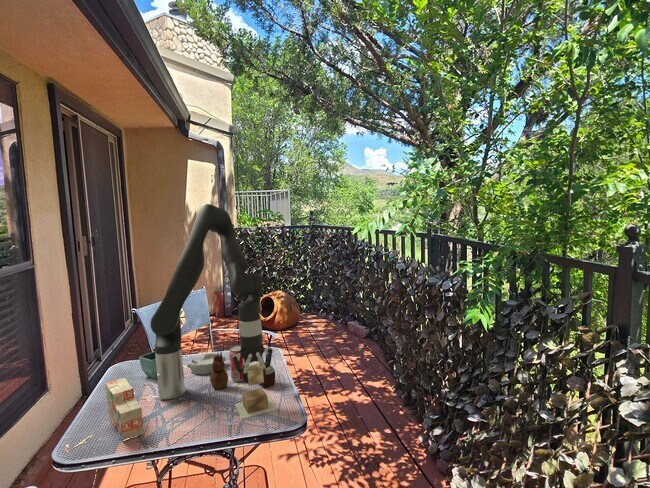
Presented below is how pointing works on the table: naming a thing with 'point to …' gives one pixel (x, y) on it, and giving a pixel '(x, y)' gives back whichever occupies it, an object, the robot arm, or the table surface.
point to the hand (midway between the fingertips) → (254, 380)
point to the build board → (244, 413)
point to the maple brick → (255, 374)
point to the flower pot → (149, 364)
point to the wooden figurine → (218, 373)
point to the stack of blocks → (124, 408)
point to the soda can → (234, 373)
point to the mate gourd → (268, 376)
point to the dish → (203, 364)
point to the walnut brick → (255, 400)
